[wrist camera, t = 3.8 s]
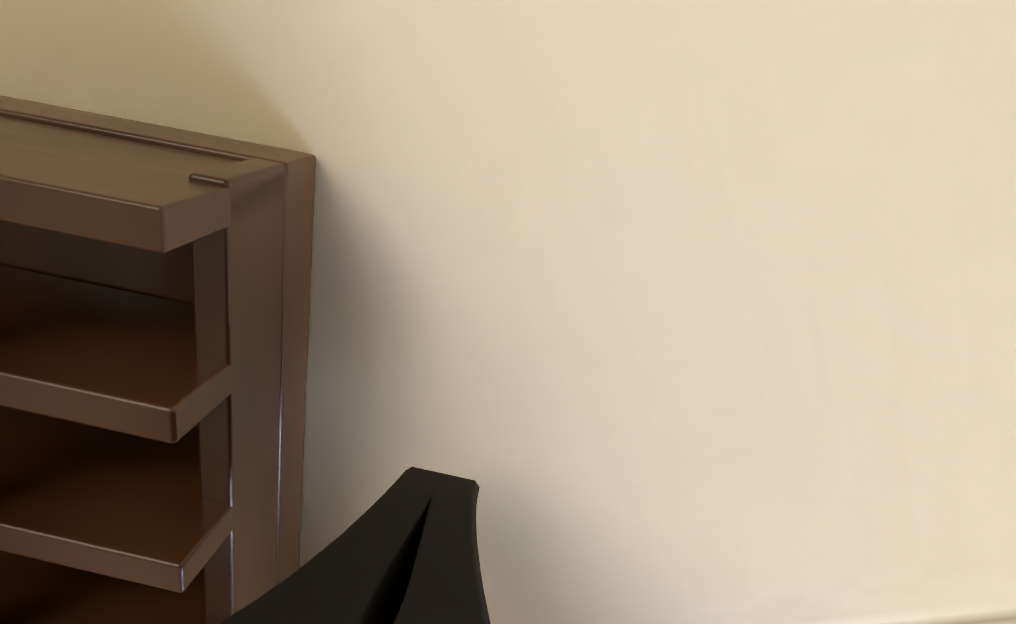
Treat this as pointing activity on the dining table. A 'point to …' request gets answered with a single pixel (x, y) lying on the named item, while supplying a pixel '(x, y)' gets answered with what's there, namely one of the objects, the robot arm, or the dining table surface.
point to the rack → (148, 368)
